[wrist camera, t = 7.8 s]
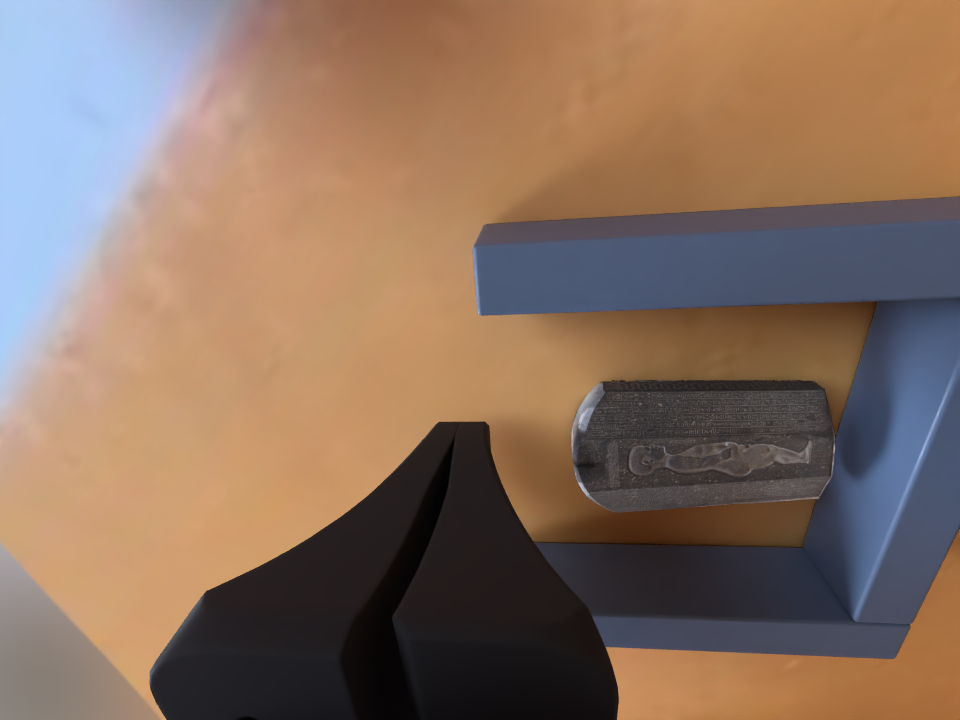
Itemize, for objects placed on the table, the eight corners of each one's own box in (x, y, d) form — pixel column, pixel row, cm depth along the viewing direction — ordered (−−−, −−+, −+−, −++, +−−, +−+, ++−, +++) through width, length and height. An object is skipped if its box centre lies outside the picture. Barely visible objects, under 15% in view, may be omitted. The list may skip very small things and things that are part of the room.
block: (795, 468, 13) (835, 515, 11) (577, 489, 14) (583, 536, 12) (806, 350, 11) (853, 385, 10) (561, 384, 12) (566, 421, 11)
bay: (838, 579, 14) (896, 660, 12) (505, 571, 16) (502, 643, 13) (981, 194, 10) (1119, 211, 7) (483, 223, 11) (471, 245, 8)
